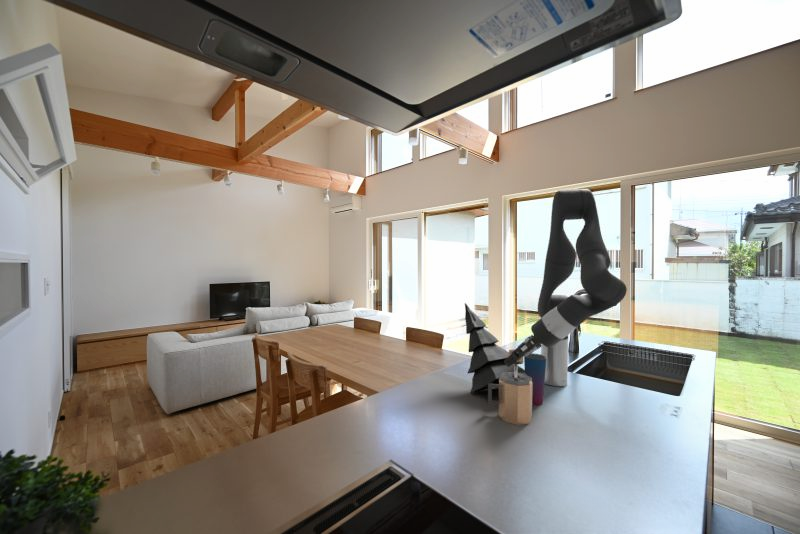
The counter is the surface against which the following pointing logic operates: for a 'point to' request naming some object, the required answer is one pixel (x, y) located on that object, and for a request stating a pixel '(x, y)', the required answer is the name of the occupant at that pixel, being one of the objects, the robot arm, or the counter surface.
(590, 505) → the counter surface
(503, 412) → the press pot
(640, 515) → the counter surface
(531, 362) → the cup
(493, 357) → the decorative tree
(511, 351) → the plunger
